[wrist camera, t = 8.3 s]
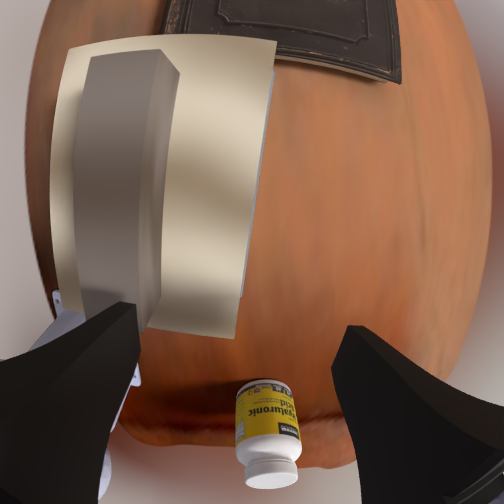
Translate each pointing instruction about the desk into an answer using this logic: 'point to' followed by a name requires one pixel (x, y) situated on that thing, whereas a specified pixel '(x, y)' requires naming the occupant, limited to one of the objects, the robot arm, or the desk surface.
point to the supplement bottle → (267, 434)
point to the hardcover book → (303, 30)
